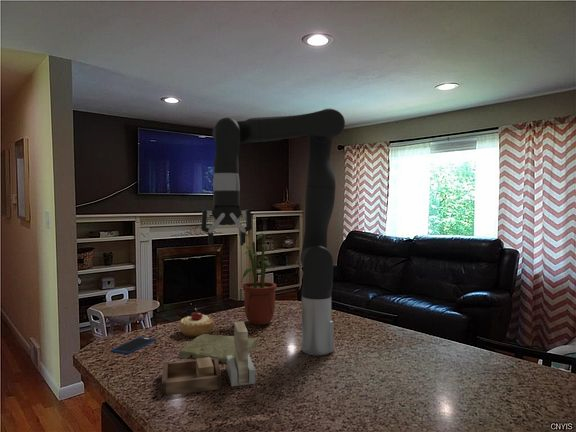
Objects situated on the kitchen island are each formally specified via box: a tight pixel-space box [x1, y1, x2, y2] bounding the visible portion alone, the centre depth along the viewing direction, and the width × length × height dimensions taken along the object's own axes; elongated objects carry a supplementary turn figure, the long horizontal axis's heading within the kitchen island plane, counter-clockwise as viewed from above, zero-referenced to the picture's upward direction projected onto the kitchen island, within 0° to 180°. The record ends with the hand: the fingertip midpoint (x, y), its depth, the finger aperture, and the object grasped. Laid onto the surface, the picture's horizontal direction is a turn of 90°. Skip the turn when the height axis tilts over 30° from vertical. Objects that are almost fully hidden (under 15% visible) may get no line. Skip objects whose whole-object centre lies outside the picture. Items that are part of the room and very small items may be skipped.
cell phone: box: [110, 336, 157, 355], centre depth 129 cm, size 7×14×1 cm, turn 161°
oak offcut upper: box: [195, 357, 214, 377], centre depth 101 cm, size 4×6×2 cm, turn 19°
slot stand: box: [226, 353, 256, 387], centre depth 104 cm, size 6×11×4 cm, turn 15°
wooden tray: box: [161, 358, 223, 397], centre depth 101 cm, size 14×12×4 cm
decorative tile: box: [178, 333, 258, 364], centre depth 123 cm, size 19×20×4 cm
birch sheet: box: [233, 321, 249, 383], centre depth 104 cm, size 2×9×13 cm, turn 14°
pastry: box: [178, 307, 214, 338], centre depth 142 cm, size 12×12×9 cm
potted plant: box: [241, 233, 277, 326], centre depth 153 cm, size 17×16×35 cm
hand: (226, 245), depth 114 cm, fingers open, 8 cm apart
